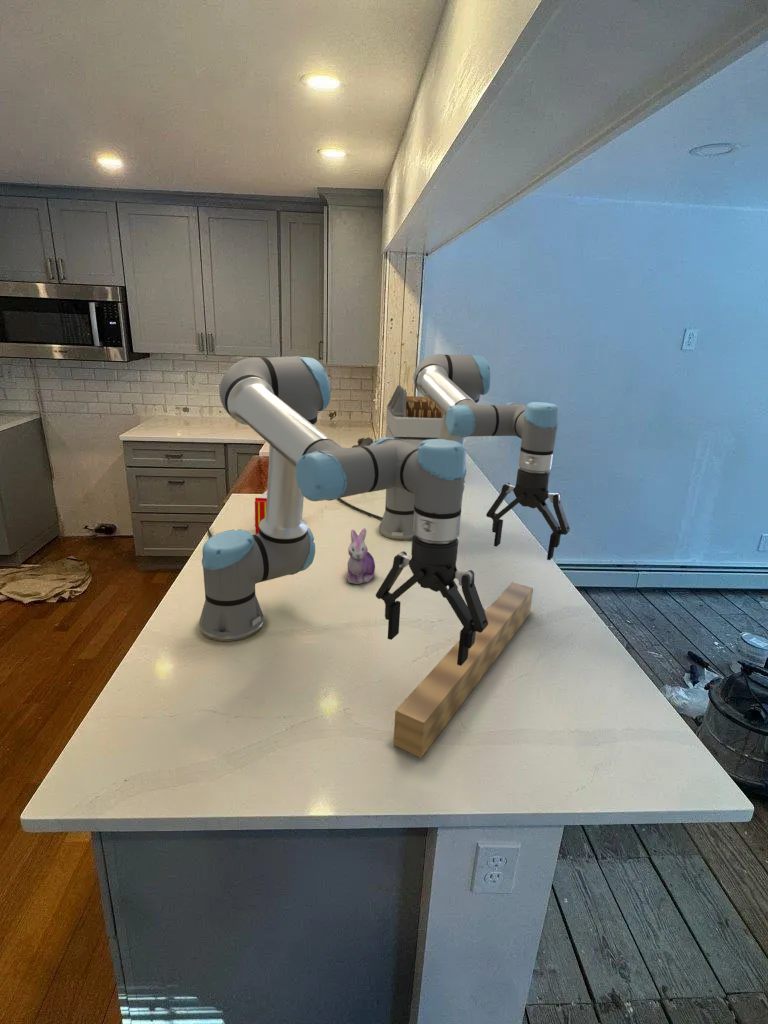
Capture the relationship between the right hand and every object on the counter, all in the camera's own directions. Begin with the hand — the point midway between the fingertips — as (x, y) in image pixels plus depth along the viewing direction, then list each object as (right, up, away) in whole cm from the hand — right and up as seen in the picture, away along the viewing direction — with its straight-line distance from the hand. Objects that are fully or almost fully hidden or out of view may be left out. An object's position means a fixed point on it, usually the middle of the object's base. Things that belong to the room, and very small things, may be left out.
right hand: (522, 551), depth 141 cm
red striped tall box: (-74, +6, +62) cm, 97 cm away
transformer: (-17, +29, +133) cm, 138 cm away
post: (-14, -25, -15) cm, 32 cm away
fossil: (-47, +39, +158) cm, 169 cm away
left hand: (-27, -14, -42) cm, 52 cm away
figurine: (-42, -9, +25) cm, 49 cm away
